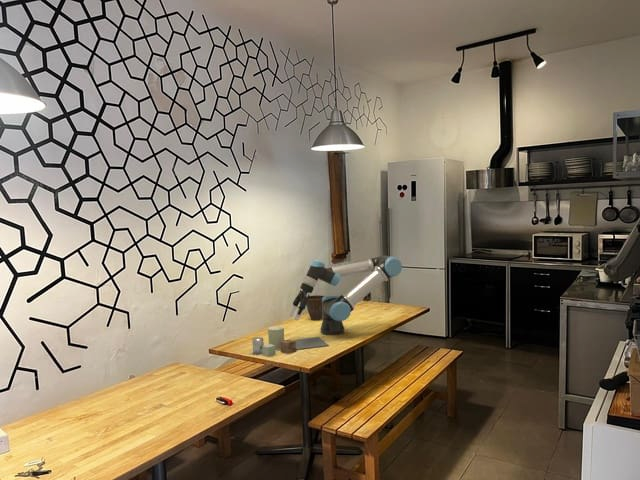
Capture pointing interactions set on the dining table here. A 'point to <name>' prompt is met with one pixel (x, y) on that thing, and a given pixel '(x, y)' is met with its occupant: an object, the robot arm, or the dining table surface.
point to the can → (276, 336)
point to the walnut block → (288, 346)
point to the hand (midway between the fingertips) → (292, 317)
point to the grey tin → (257, 345)
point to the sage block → (268, 350)
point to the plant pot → (315, 307)
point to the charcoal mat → (310, 343)
